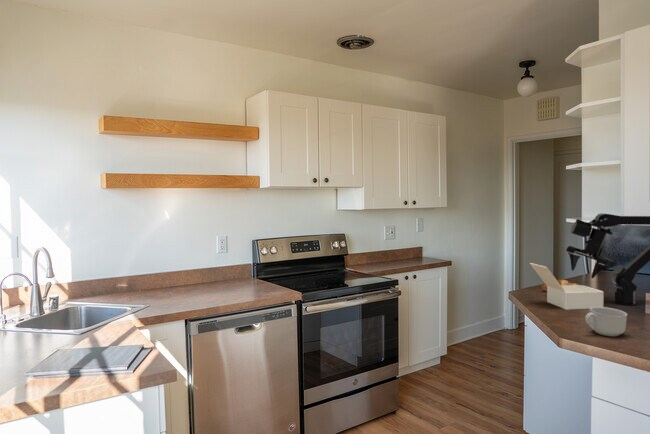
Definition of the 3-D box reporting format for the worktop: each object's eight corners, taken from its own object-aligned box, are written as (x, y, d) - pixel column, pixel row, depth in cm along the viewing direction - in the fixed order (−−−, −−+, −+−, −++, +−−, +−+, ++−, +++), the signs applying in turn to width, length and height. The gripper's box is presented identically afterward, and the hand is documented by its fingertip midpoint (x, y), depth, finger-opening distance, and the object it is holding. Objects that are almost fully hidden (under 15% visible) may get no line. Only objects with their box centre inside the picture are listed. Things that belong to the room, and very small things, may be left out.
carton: (582, 300, 201) (582, 285, 201) (604, 308, 186) (604, 291, 186) (546, 301, 200) (546, 286, 200) (566, 309, 185) (566, 292, 185)
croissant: (590, 301, 214) (590, 285, 217) (590, 295, 206) (591, 278, 209) (541, 296, 225) (542, 281, 228) (539, 290, 217) (540, 274, 220)
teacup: (612, 328, 158) (612, 306, 158) (634, 338, 147) (635, 314, 147) (573, 329, 157) (573, 307, 157) (593, 339, 147) (593, 315, 146)
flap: (530, 262, 198) (529, 263, 198) (546, 267, 185) (545, 267, 185) (547, 285, 199) (547, 286, 199) (565, 291, 186) (564, 292, 186)
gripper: (626, 250, 193) (612, 284, 195) (585, 237, 209) (572, 268, 211) (613, 246, 187) (599, 281, 189) (571, 233, 203) (559, 265, 205)
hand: (582, 274), depth 199 cm, fingers open, 9 cm apart
